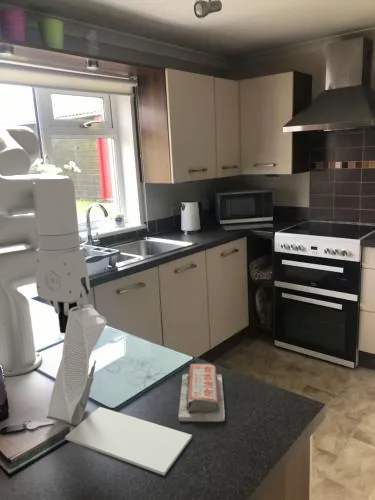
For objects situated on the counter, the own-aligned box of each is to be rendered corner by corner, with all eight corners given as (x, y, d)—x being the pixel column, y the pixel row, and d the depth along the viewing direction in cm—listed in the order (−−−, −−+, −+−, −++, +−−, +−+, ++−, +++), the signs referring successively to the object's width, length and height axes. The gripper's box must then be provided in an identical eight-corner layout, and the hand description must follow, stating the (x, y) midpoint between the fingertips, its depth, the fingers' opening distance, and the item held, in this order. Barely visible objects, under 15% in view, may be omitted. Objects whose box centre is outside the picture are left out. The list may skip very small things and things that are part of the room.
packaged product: (182, 361, 104) (221, 361, 103) (182, 378, 105) (221, 378, 104) (177, 403, 86) (225, 403, 86) (178, 423, 87) (225, 423, 87)
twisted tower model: (77, 431, 86) (109, 325, 74) (38, 421, 85) (65, 312, 74) (87, 401, 93) (118, 300, 82) (52, 392, 92) (78, 289, 81)
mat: (65, 439, 83) (64, 436, 83) (100, 409, 93) (99, 406, 92) (164, 475, 73) (164, 472, 73) (191, 437, 82) (191, 435, 82)
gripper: (15, 243, 79) (27, 332, 83) (75, 248, 72) (85, 345, 76) (45, 236, 86) (54, 319, 90) (102, 240, 79) (110, 329, 83)
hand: (68, 330), depth 83 cm, fingers closed
